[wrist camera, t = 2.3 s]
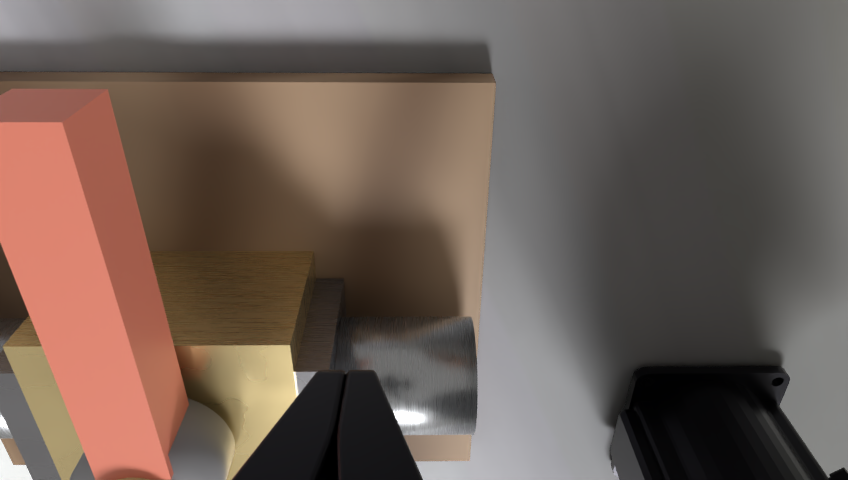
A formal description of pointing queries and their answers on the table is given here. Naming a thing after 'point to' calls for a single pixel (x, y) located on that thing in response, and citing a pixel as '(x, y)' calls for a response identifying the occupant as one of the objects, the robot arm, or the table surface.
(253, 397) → the valve
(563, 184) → the table surface
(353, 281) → the board
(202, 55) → the table surface
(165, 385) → the lever
